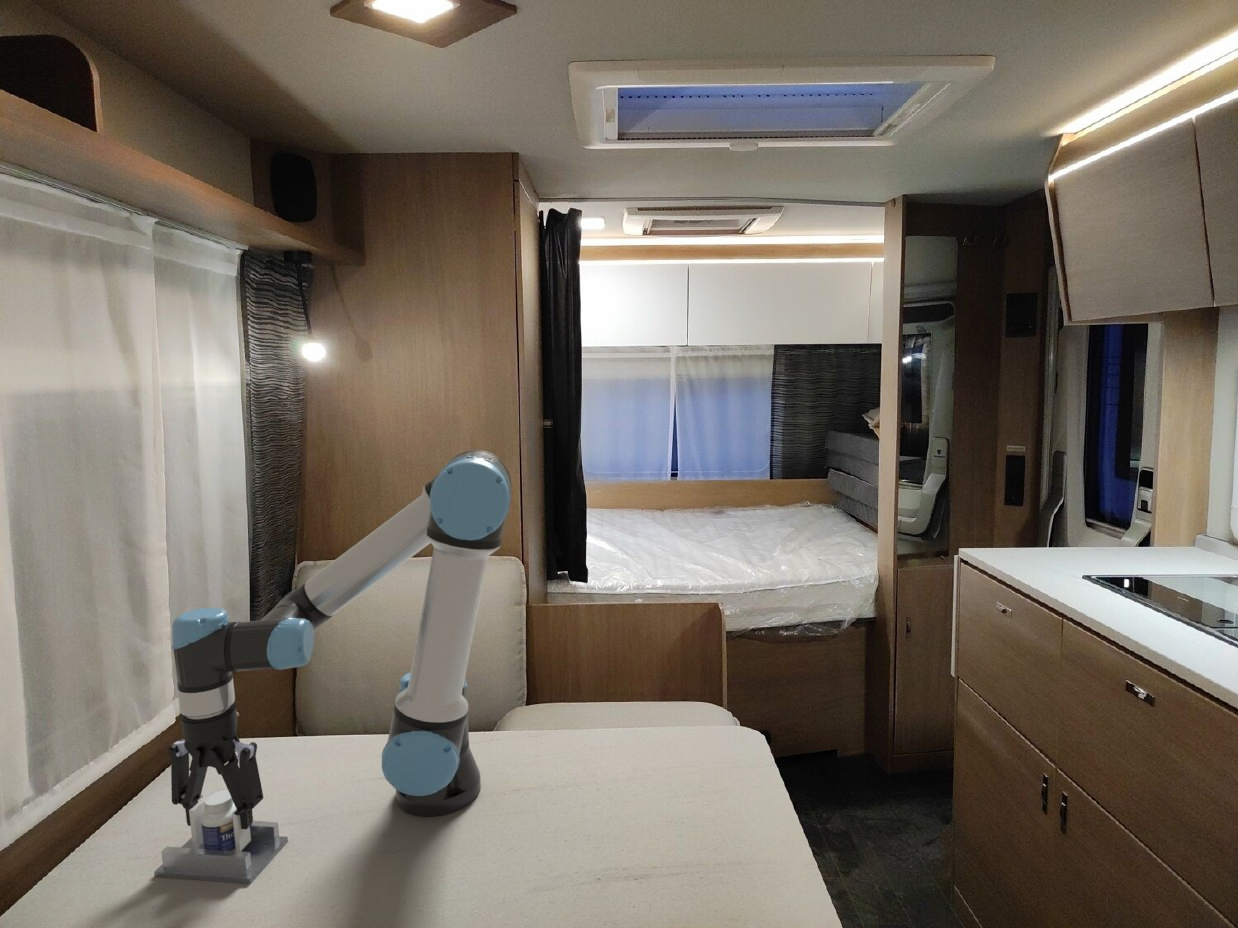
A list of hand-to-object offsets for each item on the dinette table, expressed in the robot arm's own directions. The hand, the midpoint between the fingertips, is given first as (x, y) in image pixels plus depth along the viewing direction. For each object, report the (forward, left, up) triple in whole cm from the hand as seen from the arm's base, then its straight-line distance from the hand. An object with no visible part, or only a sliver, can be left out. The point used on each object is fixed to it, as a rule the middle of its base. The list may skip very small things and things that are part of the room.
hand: (222, 843), depth 116 cm
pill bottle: (0, 0, -2) cm, 2 cm away
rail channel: (0, 0, -2) cm, 2 cm away
